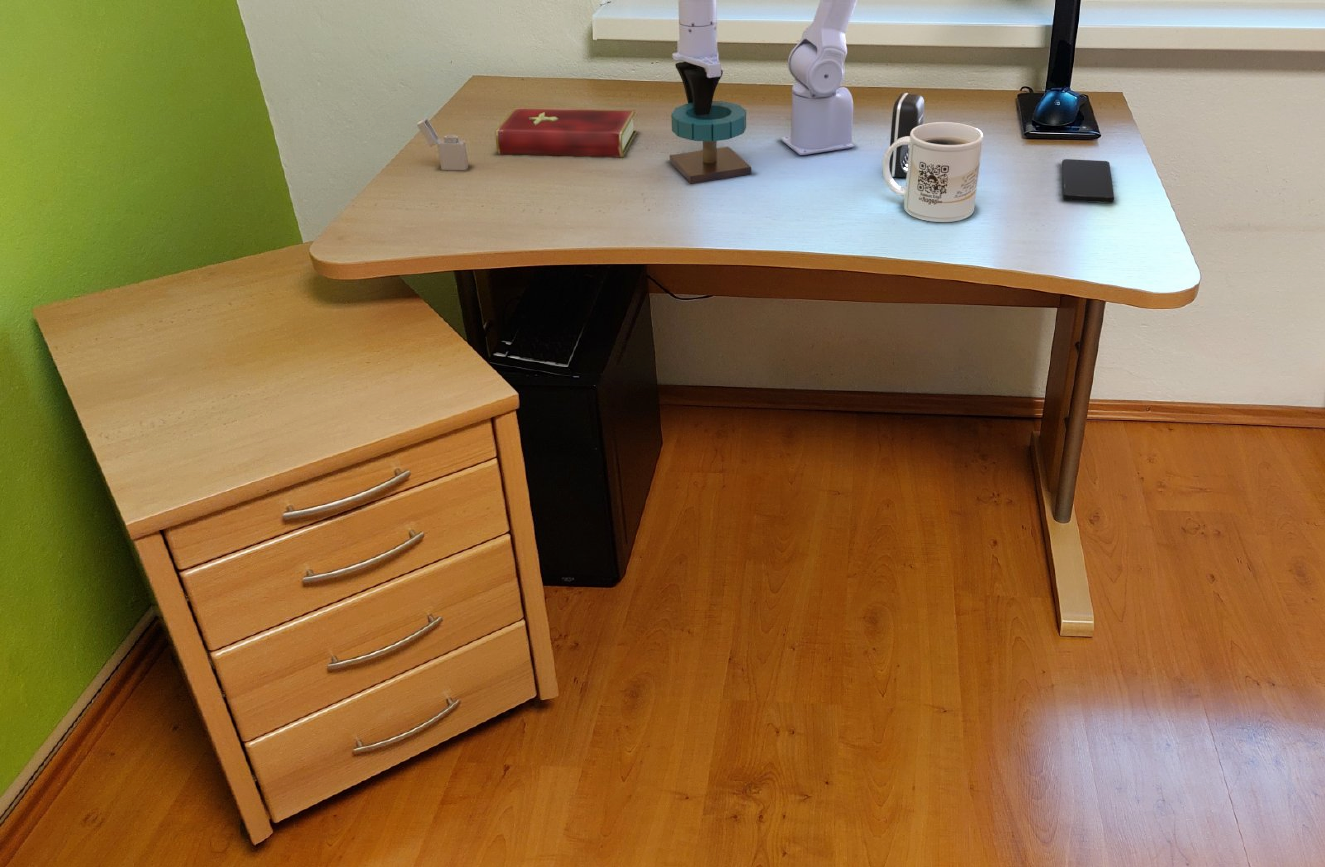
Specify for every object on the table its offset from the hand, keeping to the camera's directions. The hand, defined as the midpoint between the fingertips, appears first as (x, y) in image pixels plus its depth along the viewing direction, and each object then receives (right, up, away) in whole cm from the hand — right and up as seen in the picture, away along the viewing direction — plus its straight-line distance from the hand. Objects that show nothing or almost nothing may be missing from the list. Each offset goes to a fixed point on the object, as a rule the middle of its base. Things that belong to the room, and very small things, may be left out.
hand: (699, 111), depth 178 cm
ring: (+1, -3, -3) cm, 5 cm away
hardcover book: (-22, -2, +12) cm, 25 cm away
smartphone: (+57, -14, -10) cm, 59 cm away
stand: (+2, -9, +1) cm, 9 cm away
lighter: (-41, -8, +5) cm, 42 cm away
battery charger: (+31, -10, -3) cm, 33 cm away
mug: (+33, -18, -15) cm, 40 cm away
